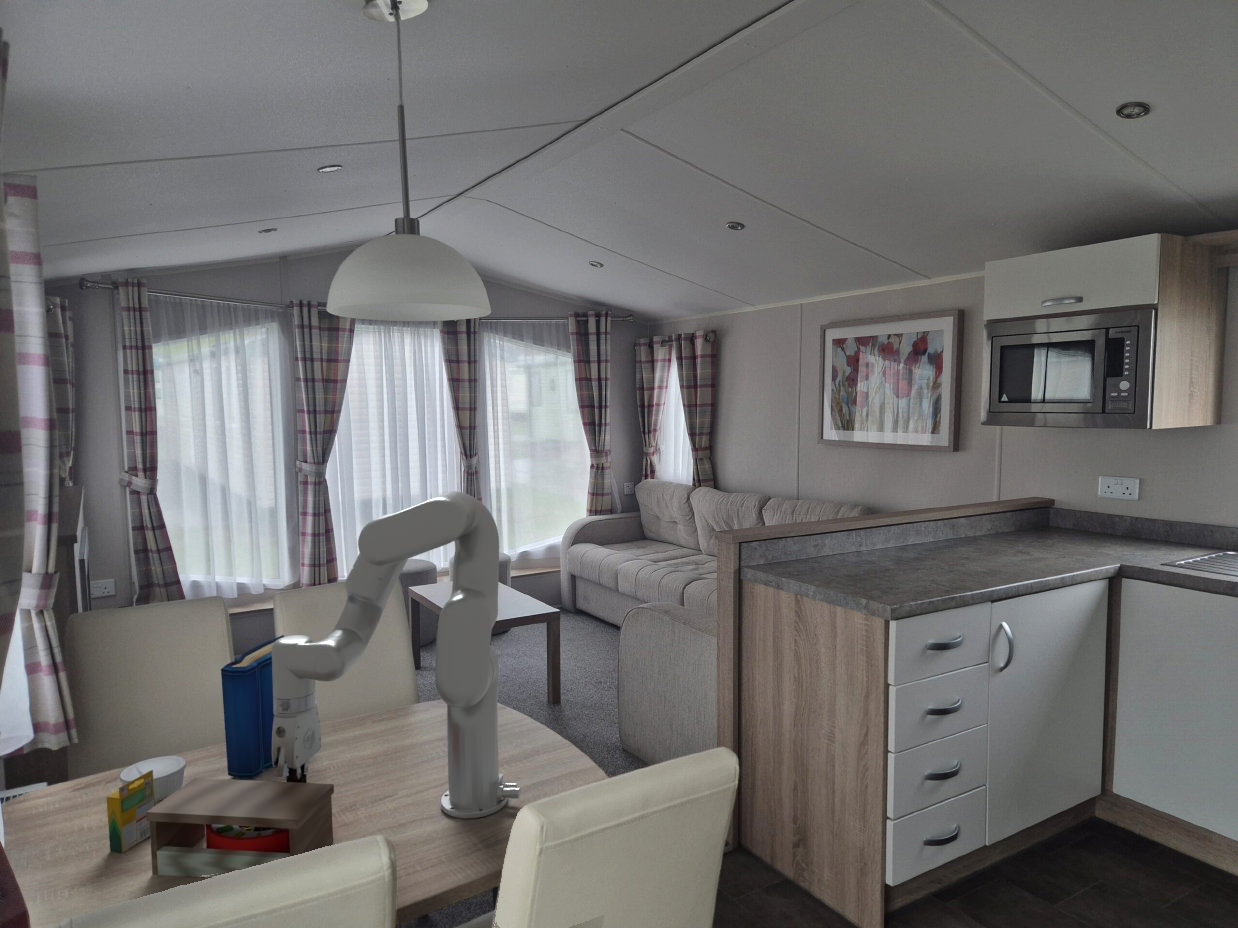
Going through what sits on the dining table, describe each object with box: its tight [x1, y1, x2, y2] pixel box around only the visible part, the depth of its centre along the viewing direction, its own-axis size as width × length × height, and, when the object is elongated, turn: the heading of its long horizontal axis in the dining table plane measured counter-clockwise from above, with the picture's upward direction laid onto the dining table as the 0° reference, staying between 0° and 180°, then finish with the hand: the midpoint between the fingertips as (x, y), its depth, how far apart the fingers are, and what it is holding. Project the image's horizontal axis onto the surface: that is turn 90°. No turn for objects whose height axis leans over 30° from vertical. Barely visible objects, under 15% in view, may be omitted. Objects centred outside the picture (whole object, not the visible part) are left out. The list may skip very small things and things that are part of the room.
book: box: [220, 634, 286, 780], centre depth 169 cm, size 22×7×25 cm, turn 168°
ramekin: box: [119, 755, 187, 803], centre depth 155 cm, size 11×11×5 cm
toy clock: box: [205, 782, 298, 853], centre depth 137 cm, size 20×6×20 cm
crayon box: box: [106, 770, 156, 854], centre depth 137 cm, size 7×3×12 cm, turn 166°
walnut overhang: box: [146, 777, 335, 879], centre depth 131 cm, size 26×12×10 cm, turn 83°
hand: (296, 795), depth 149 cm, fingers closed
